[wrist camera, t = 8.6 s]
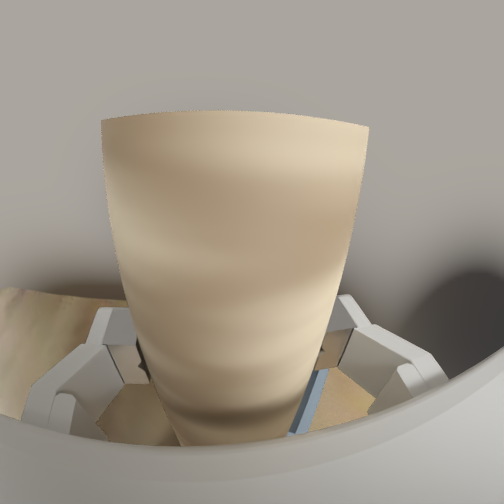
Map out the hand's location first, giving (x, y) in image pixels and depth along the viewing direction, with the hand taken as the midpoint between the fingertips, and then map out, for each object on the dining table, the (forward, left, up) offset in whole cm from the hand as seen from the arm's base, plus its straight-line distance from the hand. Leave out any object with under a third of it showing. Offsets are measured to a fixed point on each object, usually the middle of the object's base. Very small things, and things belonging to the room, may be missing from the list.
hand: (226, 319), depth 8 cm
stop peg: (0, -1, -8) cm, 8 cm away
